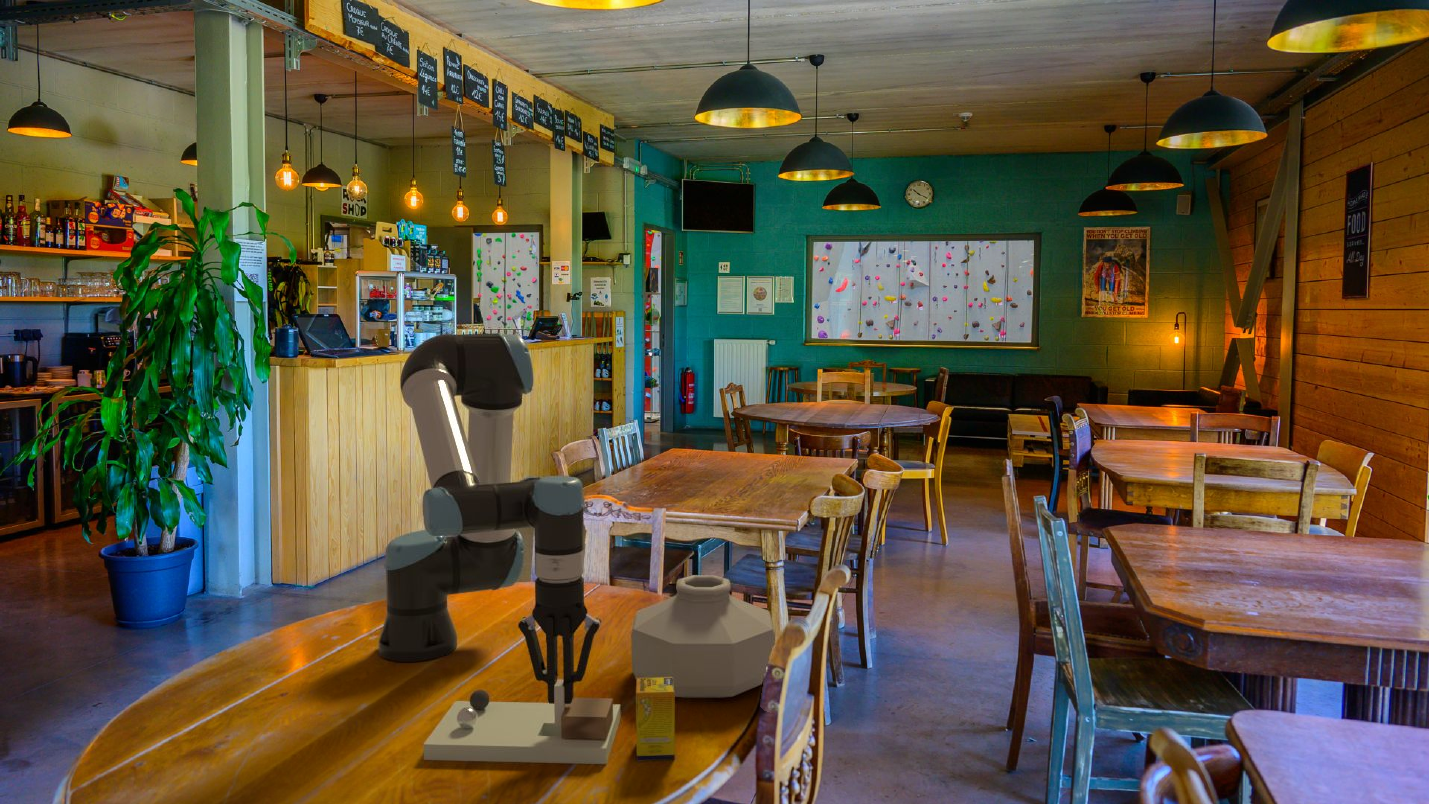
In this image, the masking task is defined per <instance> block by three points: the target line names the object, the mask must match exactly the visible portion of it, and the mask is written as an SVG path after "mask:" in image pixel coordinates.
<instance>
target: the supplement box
mask: <svg viewBox="0 0 1429 804" xmlns="http://www.w3.org/2000/svg"><path fill="white" fill-rule="evenodd" d="M675 699H676V697H675V692H674V684H673V678H672V677H658V678H637V679H636V678H635V724H636V727H635V729H636V732H635V733H636V734H635V735H636V739H635V740H636V760H637V761H638V762H640V761H661V760H662V761H665V760H667V761H668V760H675V759H676V756H675V754H676V753H675V751H676V750H675V743H676V741H675V740H676V739H675V737H676V736H675V732H676V731H675V728H676V727H675V724H676V723H675V720H676V719H675V718H676V717H675V711H676V704H675V703H676V702H675Z"/></svg>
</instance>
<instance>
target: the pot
mask: <svg viewBox="0 0 1429 804" xmlns="http://www.w3.org/2000/svg"><path fill="white" fill-rule="evenodd" d="M675 586H676V589H675V590H676V594H675V595H673V596H672V597H670V598H667V599H665V600H662V601H660V602H657V603H655V604H651V605H649V606H646V607H644V608H641V609H638V610H637V611H636V613H635V616H634V620H633V625H632V629H631V633H630V638H631V639H630V641H631V642H630V643H631V644H630V645H631V670H632V672H633V674H634V678H635V680H636V679H637V678H658V677H672V678H673V684H674V692H675V698H677V697H679V698H680V699H721V698H722V699H724V698H732V697H735V696H737V695H740V694H741V693H745V692H747V691H749V690H751V689H754V688H756V687H758V686H760V685H763V684H762V681H763V676H764V674H765V673H766V667H767V663H768V661H769V655H770V653H771V651H772V647H773V646H774V645H775V646H776V632H775V628H774V623H773V618H772V615H771V613H770V611H769V610H767V609H764V608H763V607H759V606H757V605H754V604H751V603H749V602H746V601H745V600H741V599H739V598H737V597H735V596H732V595H731V594H730V591H731V590H732V587H731V581H730V579H728V578H725V577H721V576H719V575H714V574H713V575H711V574H703V575H701V574H699V575H698V574H695V575H694V574H693V575H689V576H686V577H682V578H678V579H677V581H676V585H675Z"/></svg>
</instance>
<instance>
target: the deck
mask: <svg viewBox="0 0 1429 804" xmlns="http://www.w3.org/2000/svg"><path fill="white" fill-rule="evenodd" d="M467 707H469V708H473V707H472V706H471V705H470V700H468V701H467V700H456V701H454V703H453V704H452V705H451V707H450V708H449V709H448V710H447V711H446V713H445V715H444V716H443V718H441V720H440V721H439V723H438V724H437V725H436V726H435V728H434V729H433V731H432V732H431V733H430V735H429V736H428V738H427V739H426V740H425V741H424V743H423V760H424V761H450V762H451V761H453V762H454V761H459V762H460V761H461V762H495V763H496V762H497V763H500V762H502V763H505V762H506V763H535V764H537V763H539V764H540V763H543V764H545V763H547V764H577V765H578V764H582V765H583V764H585V765H588V764H589V765H597V764H598V765H607V763H608V760H609V756H610V754H611V750H612V747H613V744H614V740H615V737H616V734H617V731H618V728H619V725H620V721H621V704H619V703H618V704H614V703H613V721H612V724H611V727H610V730H609V733H608V736H607V739H583V738H561V726H555V713H554V704H549V702H521V701H520V702H519V701H517V702H516V701H515V702H513V701H508V702H507V701H489V704H488V705H487V707H486V708H484V709H482V710H476V709H474V708H473V709H474V710H475V711H476V712H477V716H478V719H477V722H476V724H475V725H474V726H473V727H471V728H468V729H465V728H462V727H460V726H459V725H458V723H457V715H458V713H459V712H460V710H462V709H463V708H467Z"/></svg>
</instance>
